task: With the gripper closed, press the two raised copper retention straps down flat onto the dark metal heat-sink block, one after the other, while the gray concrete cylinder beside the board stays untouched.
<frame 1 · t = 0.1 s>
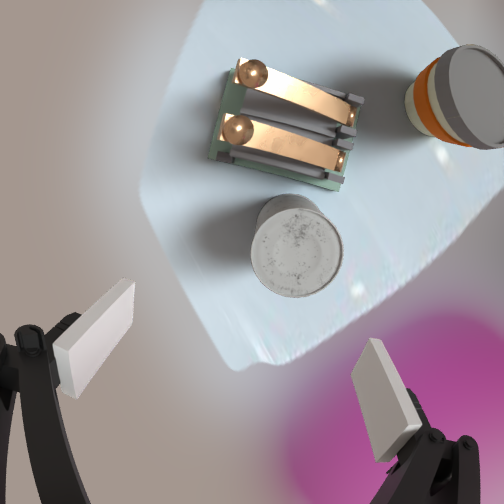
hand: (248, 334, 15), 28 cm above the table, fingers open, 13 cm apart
gray concrete cylinder: (290, 227, 42), on the table
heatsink: (285, 127, 38), on the table
strap b: (303, 94, 27), point 10 cm above the table, hinge at 30.0°
reusable coffee cup: (429, 108, 35), on the table
strap a: (290, 145, 29), point 10 cm above the table, hinge at 30.0°
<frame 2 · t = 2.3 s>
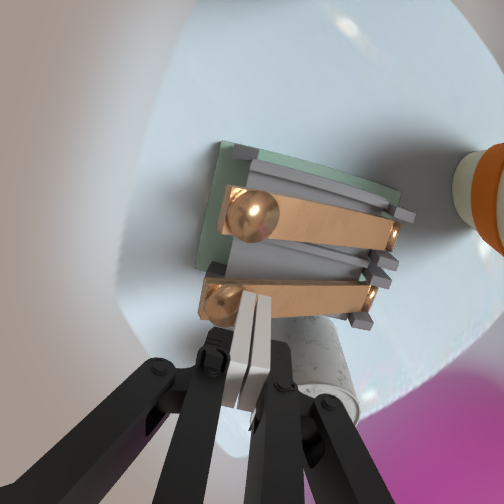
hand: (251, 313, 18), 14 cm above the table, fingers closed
gray concrete cylinder: (298, 342, 34), on the table
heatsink: (297, 227, 30), on the table
strap b: (332, 225, 19), point 10 cm above the table, hinge at 30.0°
reusable coffee cup: (478, 189, 27), on the table
strap a: (305, 299, 21), point 10 cm above the table, hinge at 28.5°, touching gripper
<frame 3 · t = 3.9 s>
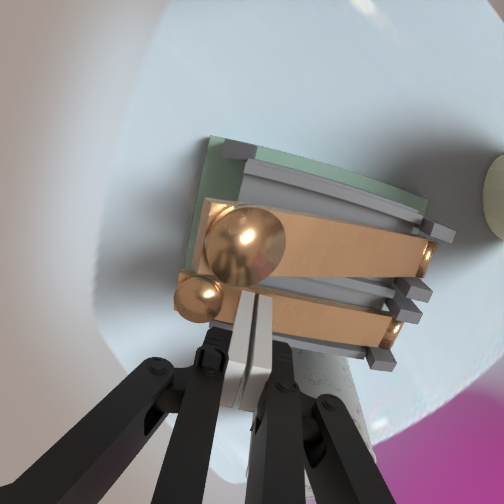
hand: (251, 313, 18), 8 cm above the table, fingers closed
gray concrete cylinder: (302, 373, 29), on the table
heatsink: (304, 242, 24), on the table
strap b: (356, 250, 14), point 10 cm above the table, hinge at 30.0°
strap a: (298, 316, 18), point 7 cm above the table, hinge at 3.9°, touching gripper
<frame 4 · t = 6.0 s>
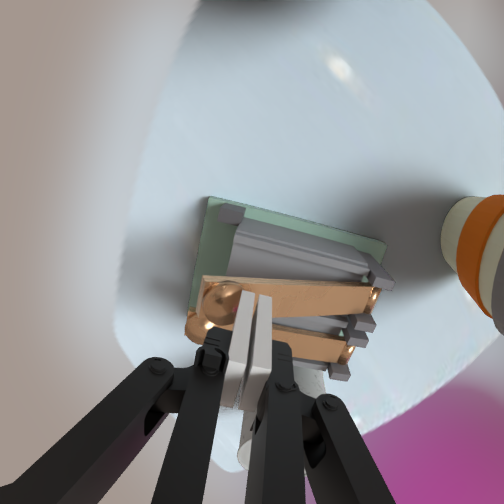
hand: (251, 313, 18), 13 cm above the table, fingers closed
gray concrete cylinder: (285, 378, 35), on the table
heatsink: (283, 278, 31), on the table
strap b: (306, 299, 21), point 10 cm above the table, hinge at 26.4°, touching gripper
reusable coffee cup: (468, 234, 28), on the table
strap a: (274, 340, 25), point 7 cm above the table, hinge at 3.9°
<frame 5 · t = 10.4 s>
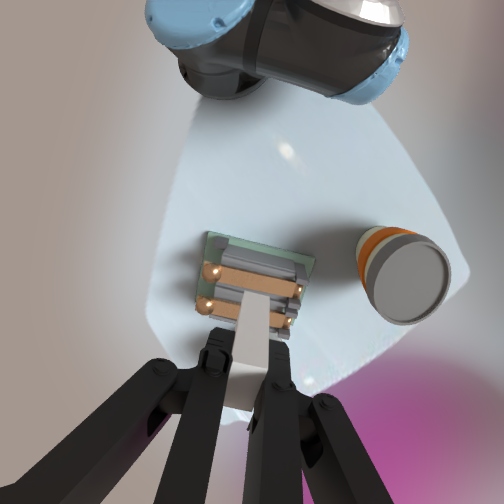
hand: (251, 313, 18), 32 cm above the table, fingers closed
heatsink: (253, 279, 52), on the table
strap b: (253, 281, 44), point 7 cm above the table, hinge at 3.9°
reusable coffee cup: (378, 250, 49), on the table
strap a: (244, 313, 46), point 7 cm above the table, hinge at 3.9°
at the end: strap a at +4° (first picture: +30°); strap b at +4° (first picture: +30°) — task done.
